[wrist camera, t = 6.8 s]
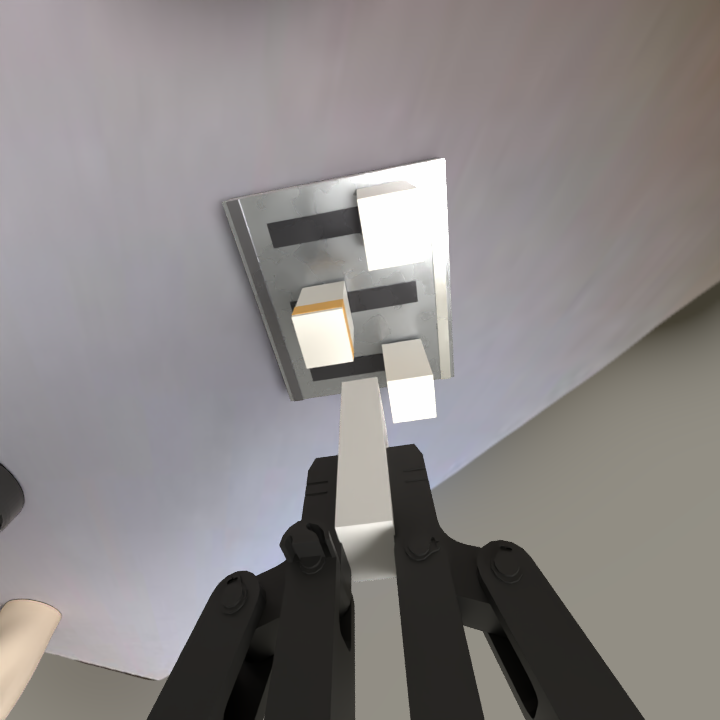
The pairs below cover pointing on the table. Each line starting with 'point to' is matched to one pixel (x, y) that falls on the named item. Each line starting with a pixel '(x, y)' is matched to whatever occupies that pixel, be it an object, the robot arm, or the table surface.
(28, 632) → the water bottle
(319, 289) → the block
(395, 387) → the breaker low
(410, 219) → the block
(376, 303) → the panel
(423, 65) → the table surface
